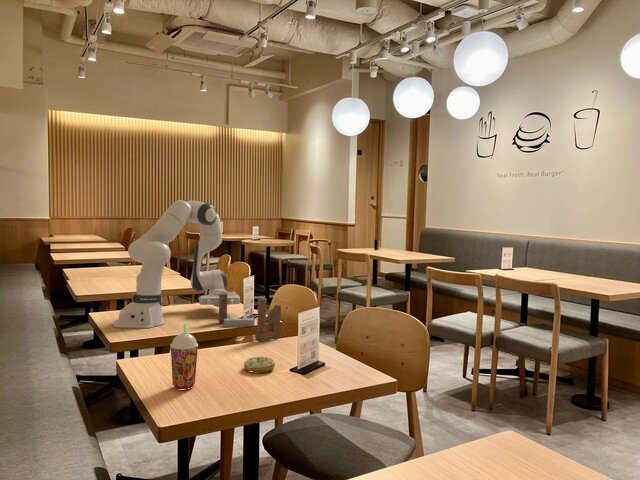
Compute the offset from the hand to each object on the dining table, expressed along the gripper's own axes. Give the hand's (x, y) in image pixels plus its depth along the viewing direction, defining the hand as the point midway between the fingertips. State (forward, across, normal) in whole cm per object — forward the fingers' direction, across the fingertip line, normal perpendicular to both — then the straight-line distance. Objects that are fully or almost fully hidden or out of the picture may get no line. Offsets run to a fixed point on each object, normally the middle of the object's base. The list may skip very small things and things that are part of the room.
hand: (221, 302), depth 264 cm
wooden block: (+42, +16, +8) cm, 46 cm away
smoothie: (+96, -20, +8) cm, 99 cm away
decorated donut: (+82, +6, +8) cm, 83 cm away
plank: (+9, 0, +8) cm, 12 cm away
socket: (+13, +7, +8) cm, 17 cm away
